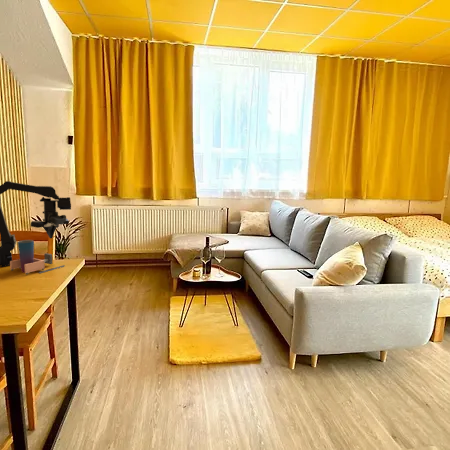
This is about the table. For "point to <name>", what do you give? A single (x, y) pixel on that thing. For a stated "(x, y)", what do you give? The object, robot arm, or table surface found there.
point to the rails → (50, 269)
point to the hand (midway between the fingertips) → (50, 238)
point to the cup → (26, 252)
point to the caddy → (32, 264)
